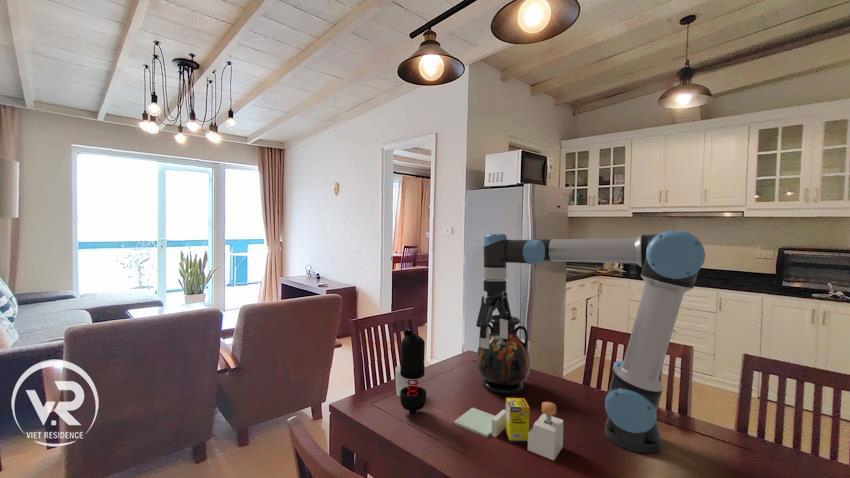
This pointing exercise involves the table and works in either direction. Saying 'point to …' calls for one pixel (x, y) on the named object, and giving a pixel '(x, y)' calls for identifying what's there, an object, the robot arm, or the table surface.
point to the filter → (412, 372)
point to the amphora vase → (504, 358)
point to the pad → (476, 422)
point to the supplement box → (517, 420)
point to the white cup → (401, 381)
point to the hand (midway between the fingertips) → (494, 342)
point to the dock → (537, 434)
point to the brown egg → (548, 411)
